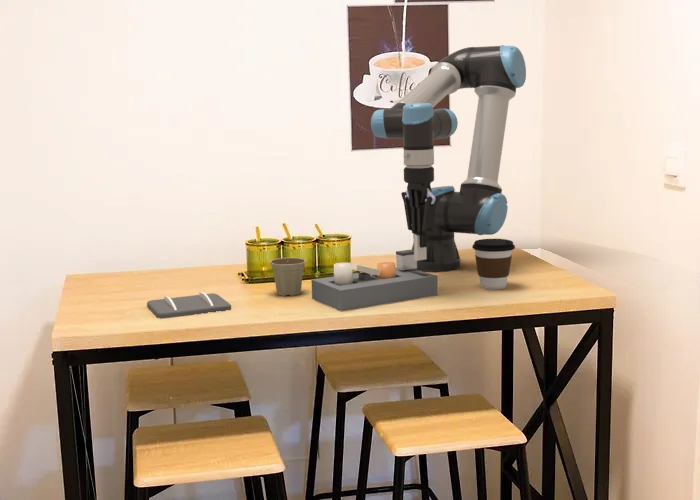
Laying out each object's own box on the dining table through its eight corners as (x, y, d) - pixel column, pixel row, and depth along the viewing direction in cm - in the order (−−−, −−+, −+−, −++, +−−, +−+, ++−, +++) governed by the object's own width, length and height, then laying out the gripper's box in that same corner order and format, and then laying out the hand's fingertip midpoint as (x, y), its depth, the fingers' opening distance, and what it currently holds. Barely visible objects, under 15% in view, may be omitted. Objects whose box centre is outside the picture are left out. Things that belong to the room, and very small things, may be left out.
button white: (331, 287, 228) (330, 263, 227) (347, 285, 230) (346, 261, 229) (340, 291, 224) (339, 266, 223) (356, 288, 226) (355, 264, 225)
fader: (396, 268, 239) (395, 251, 238) (410, 266, 241) (410, 249, 241) (402, 270, 236) (402, 253, 236) (417, 268, 239) (417, 251, 238)
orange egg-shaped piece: (374, 286, 234) (373, 263, 233) (389, 284, 236) (389, 261, 235) (383, 290, 230) (383, 266, 229) (399, 287, 232) (398, 264, 231)
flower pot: (312, 290, 241) (311, 258, 240) (299, 298, 232) (298, 265, 231) (279, 288, 244) (278, 256, 243) (265, 296, 235) (263, 263, 234)
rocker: (347, 267, 229) (348, 262, 229) (370, 272, 233) (371, 267, 233) (356, 270, 225) (357, 264, 225) (379, 275, 229) (380, 270, 229)
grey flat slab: (215, 287, 236) (232, 299, 222) (216, 299, 237) (232, 311, 223) (145, 294, 229) (157, 307, 215) (146, 307, 230) (158, 321, 216)
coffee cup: (519, 284, 242) (519, 239, 240) (508, 293, 233) (508, 246, 230) (479, 281, 247) (479, 237, 245) (466, 290, 237) (466, 244, 235)
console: (312, 298, 232) (311, 274, 230) (405, 284, 245) (404, 261, 244) (341, 310, 219) (340, 284, 218) (437, 295, 232) (437, 270, 231)
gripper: (391, 165, 231) (394, 257, 236) (421, 169, 220) (422, 265, 225) (416, 163, 235) (418, 253, 240) (446, 167, 224) (447, 261, 228)
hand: (420, 259), depth 232 cm, fingers closed
